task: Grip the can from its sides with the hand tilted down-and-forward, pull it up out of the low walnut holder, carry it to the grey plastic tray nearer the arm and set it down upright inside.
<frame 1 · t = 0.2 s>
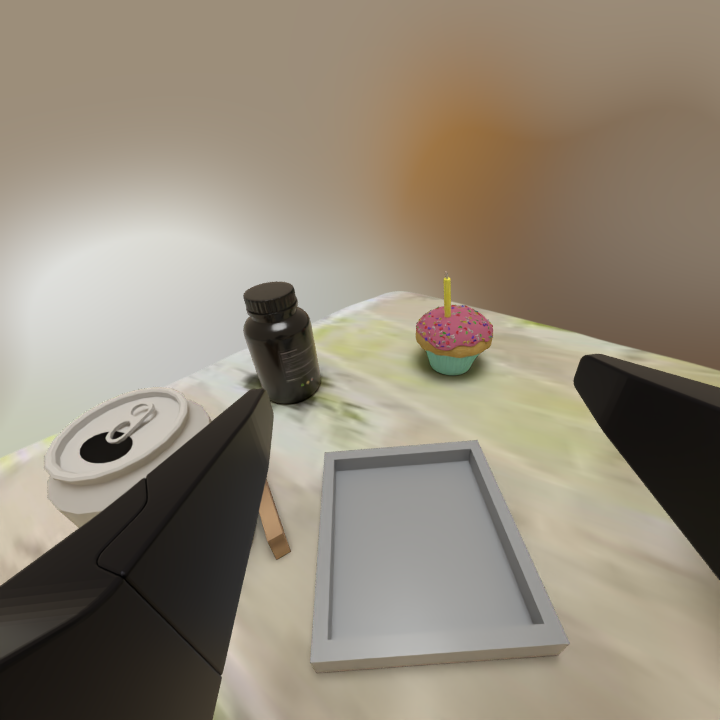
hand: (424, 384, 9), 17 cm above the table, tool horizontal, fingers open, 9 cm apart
supplement bottle: (293, 387, 36), on the table
tray: (414, 538, 21), on the table
holder: (204, 539, 22), on the table
can: (205, 541, 22), on the table
cupcake: (449, 364, 38), on the table
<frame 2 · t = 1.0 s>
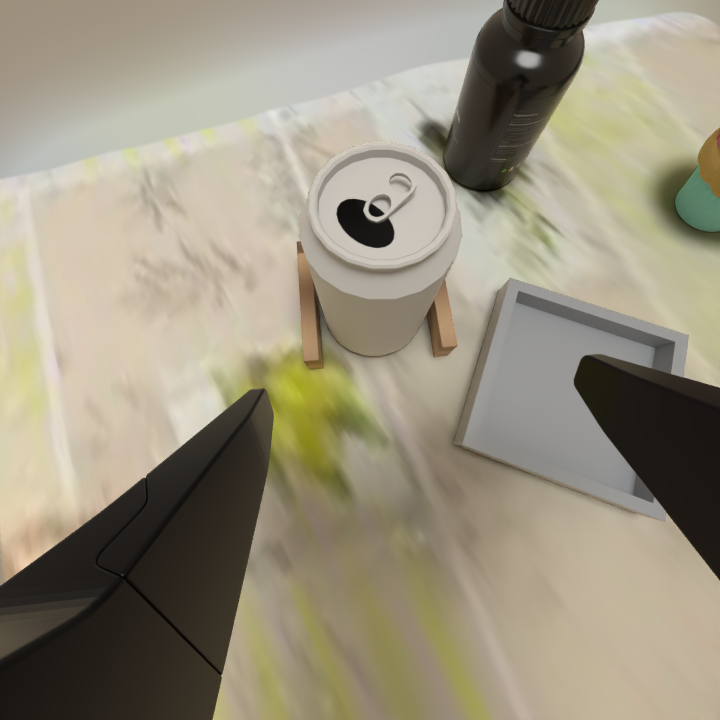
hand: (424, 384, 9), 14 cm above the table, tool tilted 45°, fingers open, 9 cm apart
supplement bottle: (479, 164, 28), on the table
tray: (561, 392, 22), on the table
holder: (373, 312, 24), on the table
can: (372, 314, 24), on the table
cupcake: (700, 208, 26), on the table
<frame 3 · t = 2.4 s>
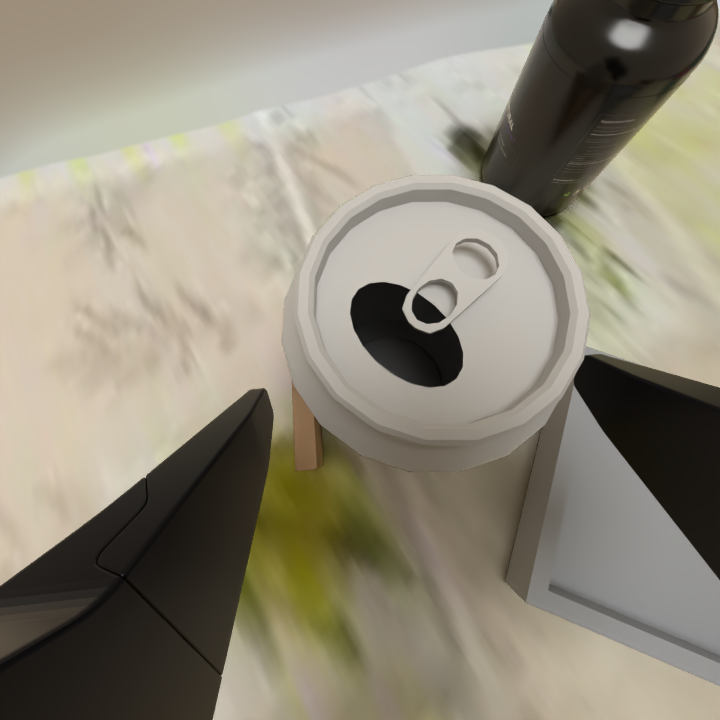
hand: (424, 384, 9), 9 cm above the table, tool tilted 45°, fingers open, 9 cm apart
supplement bottle: (526, 182, 22), on the table
tray: (652, 504, 16), on the table
holder: (390, 385, 18), on the table
can: (390, 385, 18), on the table
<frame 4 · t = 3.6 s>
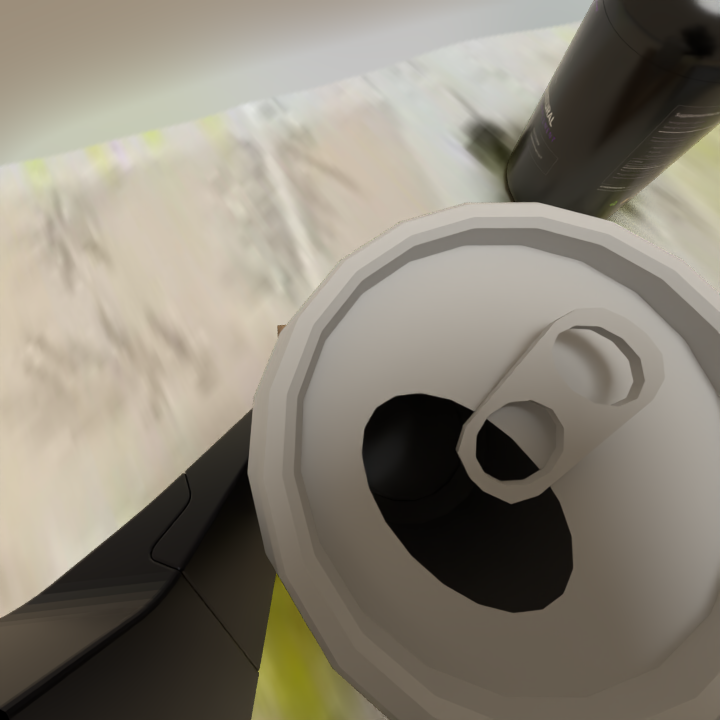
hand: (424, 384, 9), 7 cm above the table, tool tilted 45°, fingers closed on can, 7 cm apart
supplement bottle: (558, 187, 18), on the table
can: (401, 434, 15), on the table, touching gripper
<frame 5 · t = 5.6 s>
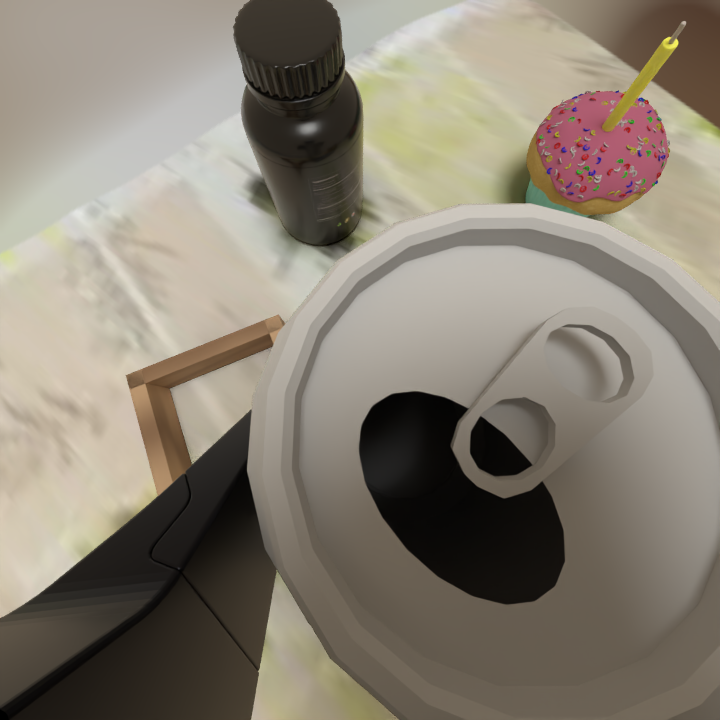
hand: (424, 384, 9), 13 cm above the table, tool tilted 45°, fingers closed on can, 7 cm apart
supplement bottle: (321, 213, 25), on the table
holder: (243, 419, 21), on the table
can: (400, 432, 15), point 6 cm above the table, touching gripper
cupcake: (552, 202, 25), on the table
when the fingers open (8 cm above the table, at t = 7.5 s): can stays where it is, resting on tray.
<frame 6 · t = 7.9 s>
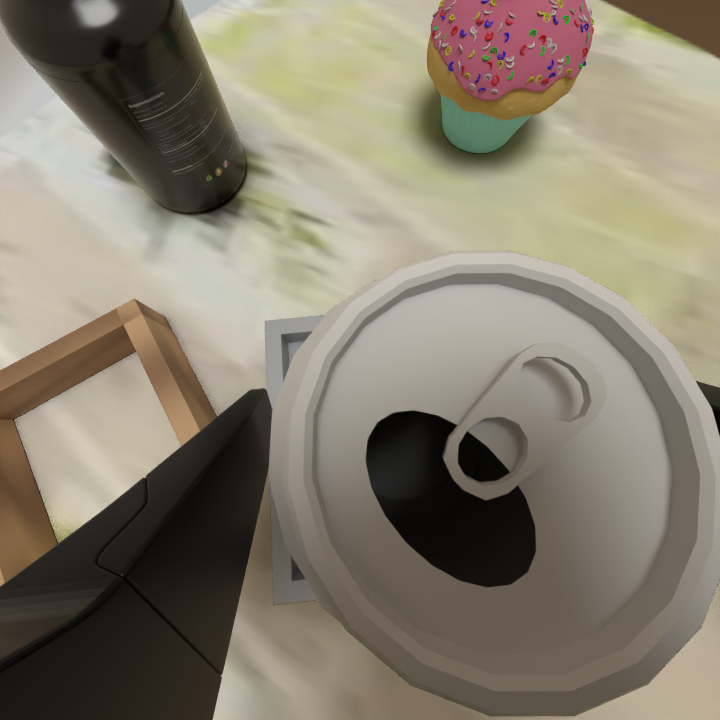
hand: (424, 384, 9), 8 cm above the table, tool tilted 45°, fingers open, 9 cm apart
supplement bottle: (199, 176, 21), on the table
tray: (398, 434, 16), on the table
holder: (115, 444, 16), on the table
can: (400, 437, 16), resting on tray
cupcake: (474, 127, 21), on the table
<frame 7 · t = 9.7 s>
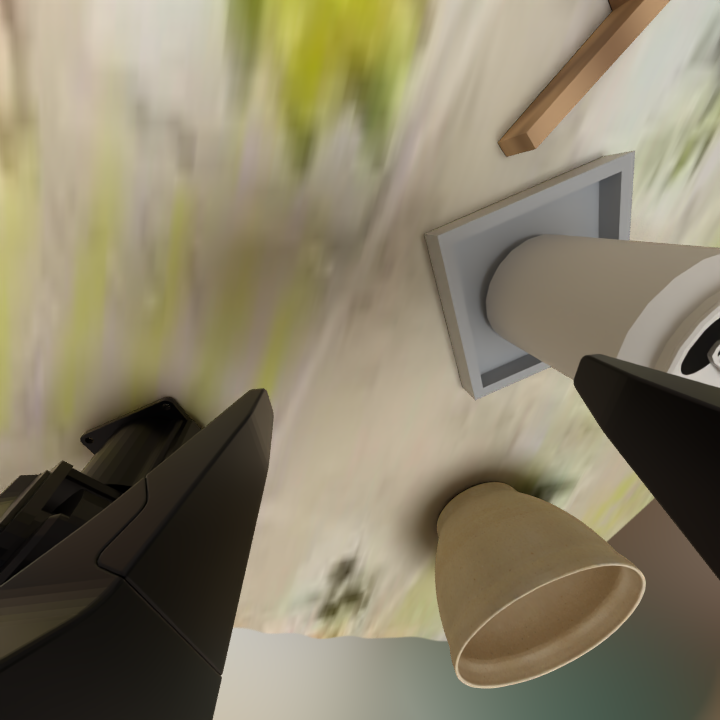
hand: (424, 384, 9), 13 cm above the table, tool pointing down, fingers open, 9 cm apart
planter bowl: (476, 510, 33), on the table
tray: (524, 286, 22), on the table
holder: (512, 4, 15), on the table
can: (524, 288, 22), resting on tray
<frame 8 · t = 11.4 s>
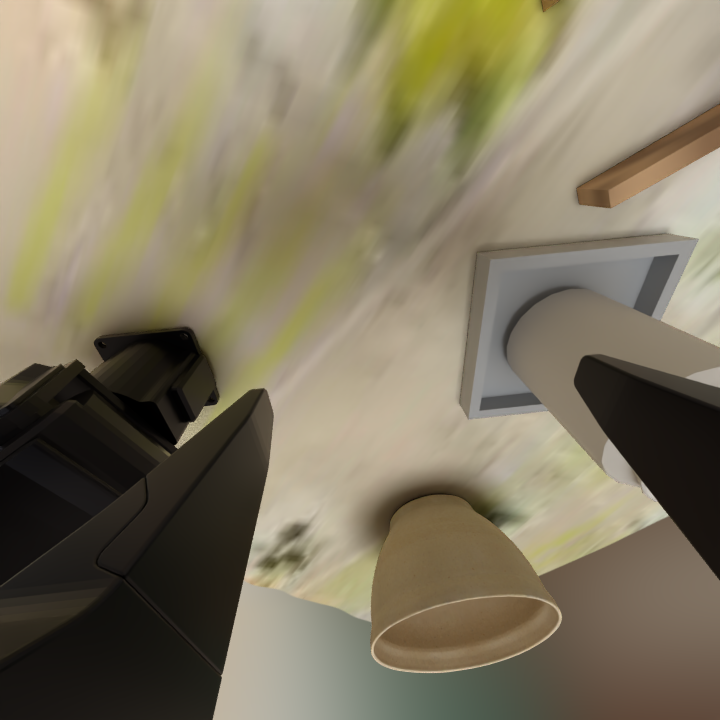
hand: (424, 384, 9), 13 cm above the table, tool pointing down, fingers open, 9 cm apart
planter bowl: (431, 516, 35), on the table
tray: (549, 330, 23), on the table
holder: (641, 59, 15), on the table
can: (549, 332, 23), resting on tray
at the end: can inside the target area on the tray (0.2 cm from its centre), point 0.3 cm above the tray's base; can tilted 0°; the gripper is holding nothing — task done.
